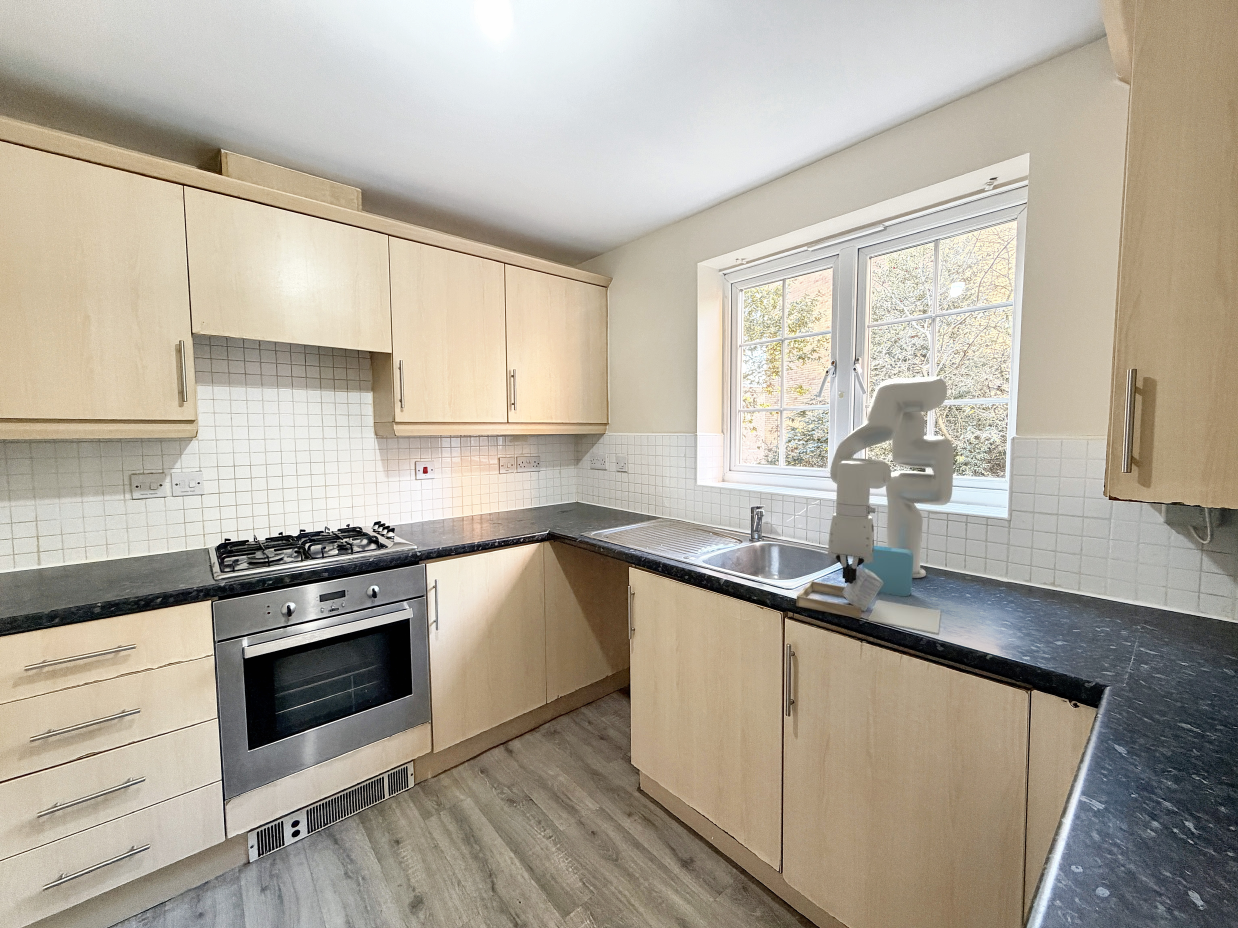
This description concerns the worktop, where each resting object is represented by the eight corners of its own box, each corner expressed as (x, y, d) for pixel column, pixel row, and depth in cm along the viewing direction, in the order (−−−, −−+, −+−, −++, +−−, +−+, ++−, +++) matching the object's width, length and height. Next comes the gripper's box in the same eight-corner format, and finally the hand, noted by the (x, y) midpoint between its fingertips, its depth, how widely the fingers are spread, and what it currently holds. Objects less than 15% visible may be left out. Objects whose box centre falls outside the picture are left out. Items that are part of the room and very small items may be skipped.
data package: (911, 593, 141) (913, 550, 140) (910, 598, 137) (912, 553, 136) (863, 585, 148) (865, 544, 147) (861, 589, 144) (862, 547, 143)
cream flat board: (877, 600, 135) (877, 599, 135) (940, 611, 127) (940, 610, 127) (868, 620, 121) (868, 619, 121) (938, 634, 114) (938, 632, 114)
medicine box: (864, 612, 126) (884, 583, 125) (848, 602, 127) (867, 573, 126) (856, 601, 134) (875, 573, 133) (841, 592, 135) (859, 564, 133)
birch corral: (810, 589, 143) (811, 580, 143) (869, 600, 135) (870, 590, 135) (796, 605, 131) (796, 596, 131) (860, 618, 123) (861, 608, 122)
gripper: (887, 511, 128) (884, 583, 130) (824, 505, 136) (821, 573, 138) (883, 515, 122) (879, 591, 123) (817, 509, 130) (814, 580, 132)
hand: (849, 582), depth 131 cm, fingers closed
